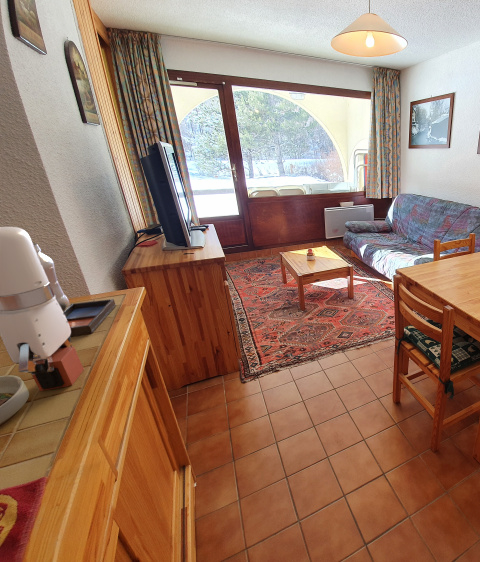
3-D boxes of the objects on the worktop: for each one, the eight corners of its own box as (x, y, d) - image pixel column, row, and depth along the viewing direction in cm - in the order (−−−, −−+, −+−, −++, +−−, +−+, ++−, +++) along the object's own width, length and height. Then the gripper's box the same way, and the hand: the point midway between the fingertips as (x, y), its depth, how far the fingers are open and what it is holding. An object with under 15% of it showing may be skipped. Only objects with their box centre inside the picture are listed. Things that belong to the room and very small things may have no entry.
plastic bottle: (34, 316, 86) (2, 247, 78) (63, 306, 92) (36, 240, 84) (49, 320, 84) (17, 250, 76) (78, 309, 90) (51, 243, 82)
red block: (40, 391, 60) (27, 366, 58) (54, 374, 64) (42, 350, 62) (72, 385, 61) (60, 360, 59) (84, 369, 66) (73, 346, 63)
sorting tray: (41, 340, 75) (37, 332, 74) (74, 311, 89) (71, 303, 88) (92, 333, 79) (89, 325, 78) (116, 306, 92) (113, 298, 91)
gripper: (26, 281, 62) (60, 356, 69) (-44, 323, 47) (9, 413, 54) (73, 277, 64) (102, 350, 71) (20, 315, 49) (63, 402, 56)
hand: (61, 376), depth 63 cm, fingers closed on red block, 5 cm apart
